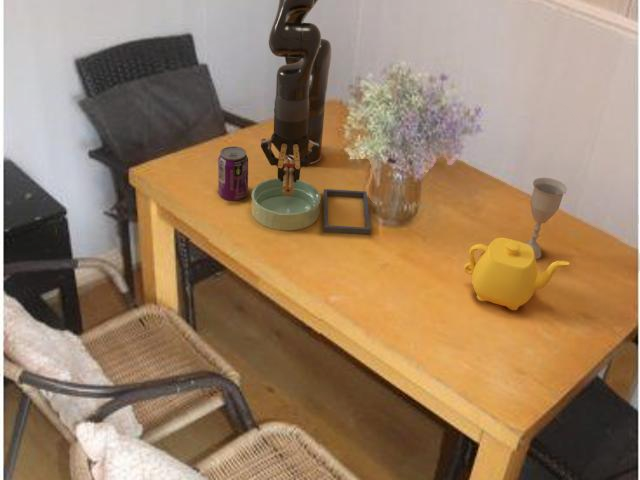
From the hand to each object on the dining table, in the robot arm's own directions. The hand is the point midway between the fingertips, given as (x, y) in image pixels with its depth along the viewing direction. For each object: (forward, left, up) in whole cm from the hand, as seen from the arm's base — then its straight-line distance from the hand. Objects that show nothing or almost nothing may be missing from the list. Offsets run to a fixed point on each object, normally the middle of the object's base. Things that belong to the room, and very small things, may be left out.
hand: (288, 179), depth 170 cm
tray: (0, +14, -9) cm, 17 cm away
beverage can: (-6, -13, -9) cm, 17 cm away
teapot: (+27, +48, -9) cm, 55 cm away
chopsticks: (0, 0, 0) cm, 0 cm away
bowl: (0, 0, -9) cm, 9 cm away
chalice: (+11, +57, -9) cm, 59 cm away
